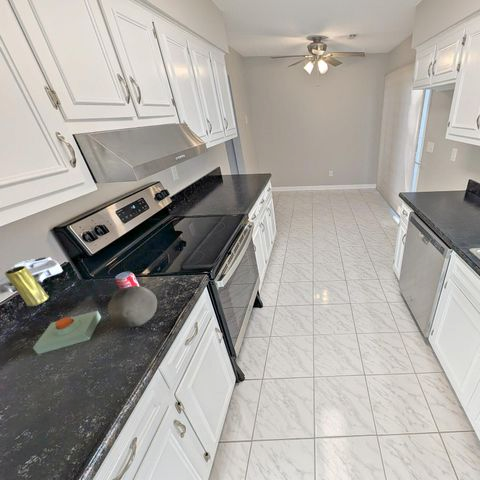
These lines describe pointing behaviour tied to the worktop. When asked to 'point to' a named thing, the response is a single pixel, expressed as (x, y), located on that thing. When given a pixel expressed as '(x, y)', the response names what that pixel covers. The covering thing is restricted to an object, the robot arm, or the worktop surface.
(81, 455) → the worktop surface
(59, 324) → the button
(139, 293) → the cantaloupe
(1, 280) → the robot arm
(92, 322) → the green push-button pad
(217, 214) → the worktop surface
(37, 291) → the vase
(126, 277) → the soda can
